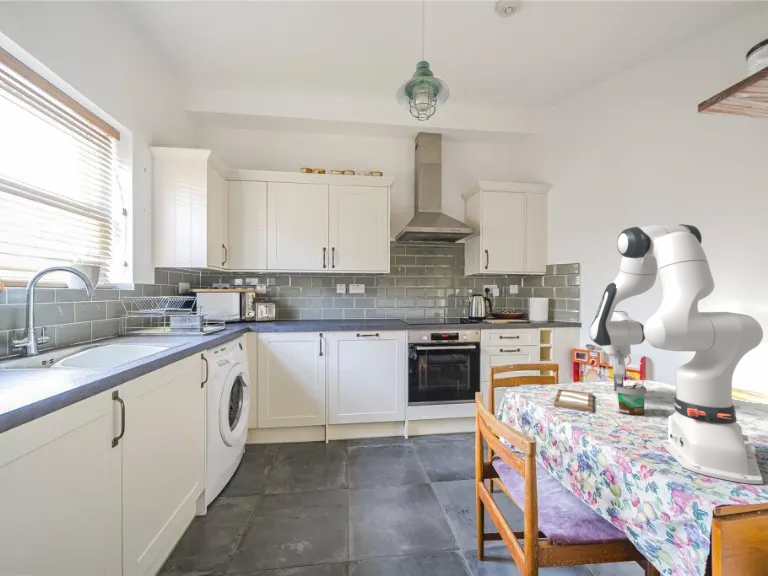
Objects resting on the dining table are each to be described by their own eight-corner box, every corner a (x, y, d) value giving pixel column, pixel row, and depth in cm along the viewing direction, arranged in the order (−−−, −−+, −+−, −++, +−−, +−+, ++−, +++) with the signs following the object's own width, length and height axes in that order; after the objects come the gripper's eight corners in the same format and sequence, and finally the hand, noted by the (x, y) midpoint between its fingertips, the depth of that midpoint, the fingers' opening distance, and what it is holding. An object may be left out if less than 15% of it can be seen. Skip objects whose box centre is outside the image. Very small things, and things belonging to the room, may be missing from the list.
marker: (624, 394, 133) (623, 365, 133) (614, 393, 135) (613, 364, 135) (623, 392, 136) (622, 363, 136) (613, 391, 137) (612, 363, 138)
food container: (635, 419, 112) (634, 391, 113) (617, 413, 118) (615, 386, 118) (655, 413, 117) (654, 386, 118) (636, 408, 123) (635, 382, 123)
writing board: (592, 412, 120) (592, 408, 120) (553, 406, 127) (553, 403, 127) (592, 395, 138) (592, 392, 138) (558, 391, 146) (558, 388, 146)
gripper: (628, 353, 125) (630, 389, 125) (624, 345, 142) (626, 377, 142) (609, 352, 128) (610, 387, 128) (607, 345, 146) (608, 375, 145)
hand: (618, 381), depth 135 cm, fingers closed on marker, 3 cm apart
